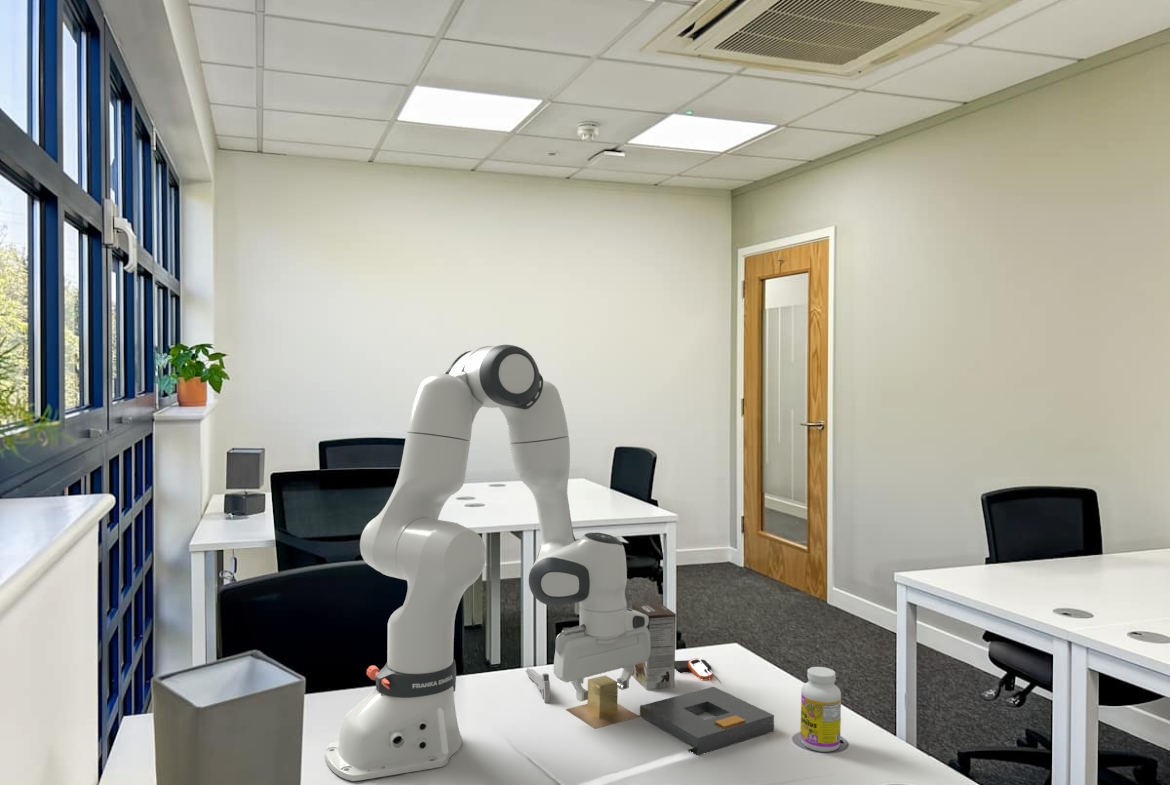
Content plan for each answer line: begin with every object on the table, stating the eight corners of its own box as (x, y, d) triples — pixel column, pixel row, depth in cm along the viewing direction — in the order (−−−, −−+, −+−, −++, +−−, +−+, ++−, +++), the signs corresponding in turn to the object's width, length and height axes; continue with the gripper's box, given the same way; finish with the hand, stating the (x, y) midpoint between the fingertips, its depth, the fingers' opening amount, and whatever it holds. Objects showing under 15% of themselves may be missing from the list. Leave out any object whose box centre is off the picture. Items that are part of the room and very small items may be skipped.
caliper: (550, 709, 157) (550, 676, 157) (544, 710, 157) (545, 677, 156) (530, 672, 177) (530, 643, 176) (525, 672, 176) (525, 643, 176)
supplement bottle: (793, 738, 145) (794, 666, 144) (826, 734, 146) (828, 663, 146) (812, 755, 138) (814, 679, 138) (847, 751, 140) (849, 676, 140)
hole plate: (697, 755, 137) (697, 736, 137) (639, 721, 151) (640, 704, 151) (773, 731, 147) (774, 713, 147) (713, 701, 161) (713, 685, 161)
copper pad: (594, 734, 145) (594, 728, 145) (565, 714, 154) (565, 709, 154) (639, 721, 151) (640, 716, 151) (608, 703, 159) (608, 698, 159)
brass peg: (599, 718, 149) (599, 686, 149) (587, 711, 153) (587, 679, 153) (617, 714, 152) (617, 682, 152) (605, 706, 155) (605, 675, 155)
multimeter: (749, 696, 165) (749, 679, 165) (690, 698, 164) (690, 681, 164) (724, 666, 183) (725, 651, 183) (671, 667, 182) (672, 652, 182)
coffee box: (629, 679, 172) (630, 603, 172) (658, 676, 174) (659, 601, 174) (646, 695, 163) (647, 615, 163) (675, 692, 165) (676, 612, 165)
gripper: (565, 635, 144) (565, 713, 145) (655, 615, 156) (655, 687, 156) (546, 626, 149) (546, 701, 150) (635, 607, 161) (634, 677, 161)
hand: (603, 694), depth 153 cm, fingers open, 8 cm apart
